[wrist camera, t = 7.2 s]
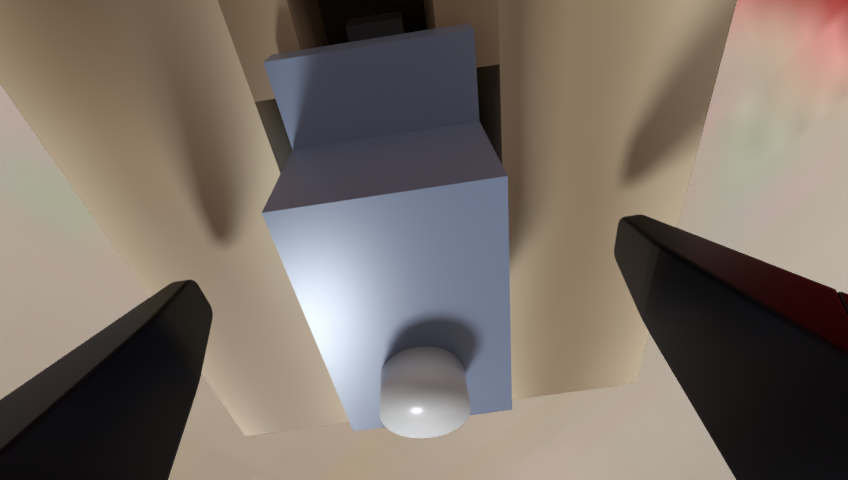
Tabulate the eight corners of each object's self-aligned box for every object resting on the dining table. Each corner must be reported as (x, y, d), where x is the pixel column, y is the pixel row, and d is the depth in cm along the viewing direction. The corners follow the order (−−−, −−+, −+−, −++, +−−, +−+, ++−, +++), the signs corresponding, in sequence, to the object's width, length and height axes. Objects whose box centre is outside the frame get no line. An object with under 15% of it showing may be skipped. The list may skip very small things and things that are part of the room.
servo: (447, 3, 10) (523, 76, 4) (471, 279, 15) (521, 482, 9) (303, 26, 10) (188, 127, 4) (375, 292, 15) (366, 503, 9)
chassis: (678, -196, 8) (805, -260, 6) (598, 316, 16) (636, 383, 14) (24, -87, 8) (-130, -102, 6) (267, 362, 16) (245, 436, 14)
